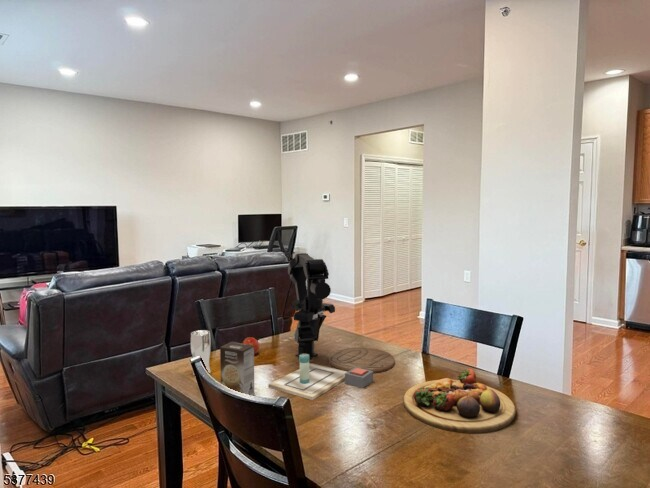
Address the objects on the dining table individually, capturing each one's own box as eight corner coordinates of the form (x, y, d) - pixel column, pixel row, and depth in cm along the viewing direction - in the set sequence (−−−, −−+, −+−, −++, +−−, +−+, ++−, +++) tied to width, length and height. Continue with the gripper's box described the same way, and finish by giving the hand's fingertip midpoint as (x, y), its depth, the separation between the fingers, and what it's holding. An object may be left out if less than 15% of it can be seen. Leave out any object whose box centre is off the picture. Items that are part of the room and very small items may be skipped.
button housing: (355, 376, 157) (355, 367, 157) (373, 381, 153) (373, 371, 153) (344, 383, 151) (344, 373, 151) (363, 388, 147) (363, 377, 147)
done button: (356, 376, 155) (356, 367, 155) (367, 378, 153) (367, 370, 152) (350, 380, 152) (350, 371, 151) (361, 382, 149) (361, 373, 149)
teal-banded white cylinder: (303, 378, 152) (303, 353, 152) (311, 381, 151) (311, 354, 150) (297, 382, 150) (297, 355, 149) (305, 384, 148) (305, 357, 147)
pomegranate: (245, 363, 177) (265, 347, 178) (233, 349, 177) (253, 333, 178) (246, 359, 185) (265, 343, 186) (235, 345, 184) (254, 329, 185)
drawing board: (310, 365, 168) (310, 362, 168) (352, 375, 158) (352, 372, 158) (268, 387, 149) (268, 383, 149) (312, 400, 139) (312, 396, 138)
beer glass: (214, 370, 164) (213, 330, 163) (207, 377, 157) (206, 335, 156) (196, 369, 165) (194, 329, 164) (188, 376, 158) (187, 335, 157)
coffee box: (219, 396, 142) (218, 346, 140) (232, 388, 147) (231, 341, 146) (244, 401, 138) (242, 350, 136) (255, 393, 144) (254, 344, 142)
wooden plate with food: (440, 378, 157) (440, 355, 156) (534, 406, 133) (534, 379, 133) (381, 409, 135) (381, 382, 134) (481, 449, 112) (481, 417, 111)
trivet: (404, 358, 176) (404, 354, 176) (377, 380, 155) (377, 374, 155) (349, 348, 189) (349, 344, 189) (316, 366, 168) (316, 361, 168)
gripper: (311, 287, 177) (312, 326, 178) (281, 295, 162) (282, 337, 163) (335, 290, 171) (335, 330, 172) (306, 298, 156) (306, 342, 157)
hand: (315, 335), depth 166 cm, fingers closed
